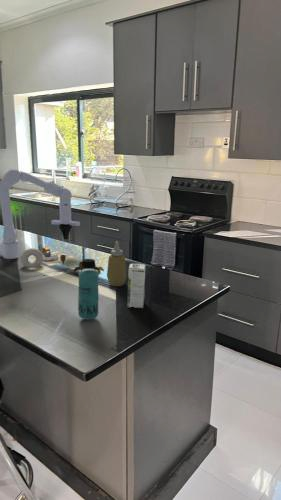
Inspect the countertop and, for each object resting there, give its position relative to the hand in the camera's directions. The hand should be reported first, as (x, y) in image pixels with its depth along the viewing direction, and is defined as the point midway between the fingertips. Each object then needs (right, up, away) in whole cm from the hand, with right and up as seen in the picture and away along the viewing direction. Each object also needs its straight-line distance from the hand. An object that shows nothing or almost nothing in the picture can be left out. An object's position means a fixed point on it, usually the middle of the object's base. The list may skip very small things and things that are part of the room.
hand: (65, 239), depth 191 cm
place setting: (+12, -15, -18) cm, 26 cm away
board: (-5, -11, -6) cm, 13 cm away
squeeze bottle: (+28, -20, -37) cm, 51 cm away
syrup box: (+36, -25, -58) cm, 73 cm away
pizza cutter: (-8, -9, -5) cm, 13 cm away
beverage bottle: (+21, -28, -70) cm, 79 cm away
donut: (-11, -15, -20) cm, 27 cm away
